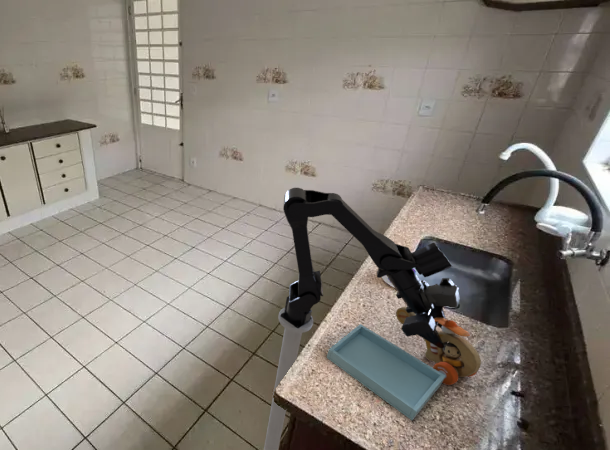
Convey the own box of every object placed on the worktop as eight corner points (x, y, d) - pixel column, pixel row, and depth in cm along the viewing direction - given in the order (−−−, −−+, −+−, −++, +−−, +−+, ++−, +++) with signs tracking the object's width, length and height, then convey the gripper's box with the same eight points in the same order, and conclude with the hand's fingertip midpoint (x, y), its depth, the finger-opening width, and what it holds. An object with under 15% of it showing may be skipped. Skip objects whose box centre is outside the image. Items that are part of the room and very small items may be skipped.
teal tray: (326, 357, 89) (328, 349, 87) (357, 332, 96) (360, 323, 95) (412, 420, 74) (416, 411, 72) (441, 384, 81) (445, 375, 80)
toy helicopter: (452, 393, 79) (476, 351, 73) (380, 329, 97) (394, 290, 90) (478, 383, 82) (503, 341, 75) (403, 322, 99) (418, 284, 92)
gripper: (435, 294, 74) (479, 358, 73) (449, 257, 86) (487, 312, 85) (384, 306, 82) (423, 364, 81) (404, 271, 94) (438, 320, 93)
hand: (444, 339), depth 85 cm, fingers closed on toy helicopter, 7 cm apart
